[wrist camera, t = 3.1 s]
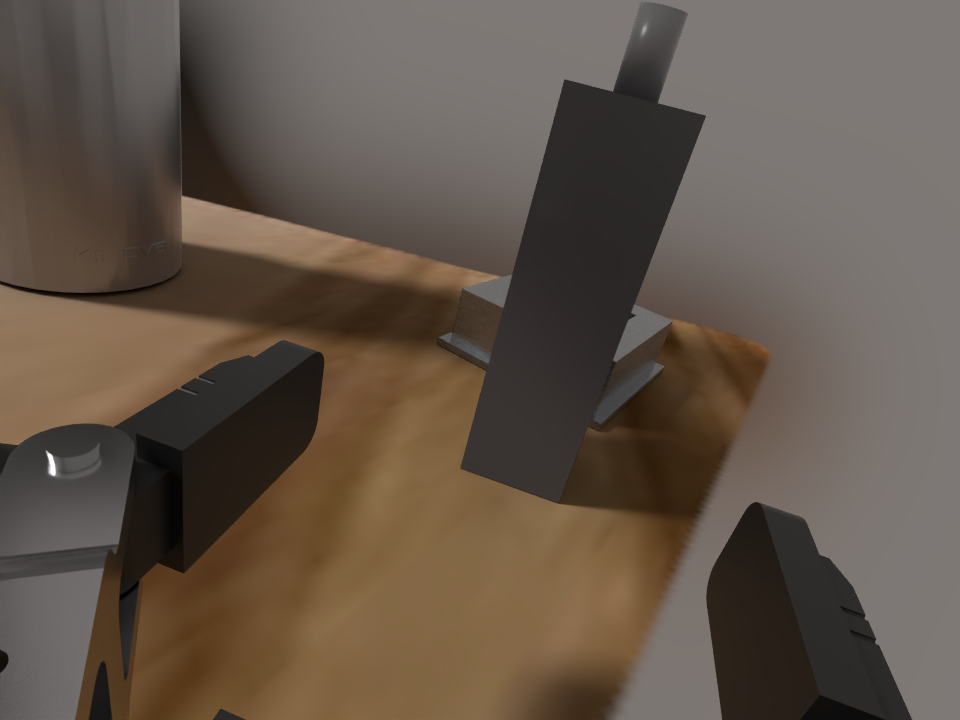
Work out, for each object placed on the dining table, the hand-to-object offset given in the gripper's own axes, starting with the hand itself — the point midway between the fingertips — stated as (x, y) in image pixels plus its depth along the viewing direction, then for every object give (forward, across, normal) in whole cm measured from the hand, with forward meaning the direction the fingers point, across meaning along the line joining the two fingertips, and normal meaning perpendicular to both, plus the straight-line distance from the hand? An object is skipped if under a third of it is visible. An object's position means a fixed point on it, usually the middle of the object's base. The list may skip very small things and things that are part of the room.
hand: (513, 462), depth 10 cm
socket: (+22, 0, +8) cm, 23 cm away
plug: (+11, 0, +8) cm, 14 cm away
